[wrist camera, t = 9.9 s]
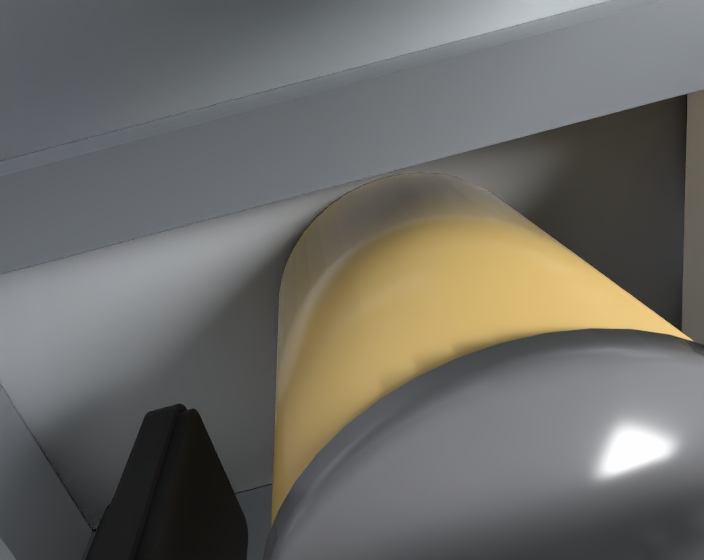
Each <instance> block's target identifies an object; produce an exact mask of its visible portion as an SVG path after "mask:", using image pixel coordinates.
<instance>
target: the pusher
mask: <svg viewBox="0 0 704 560" xmlns="http://www.w3.org/2000/svg"><path fill="white" fill-rule="evenodd" d="M682 333H683V334H685V335H686V336H687V337H689V338H690V339H692V340H693V341H694V342H697V343H700V344H703V345H704V89H703V90H699V91H695V92H691V93H688V100H687V140H686V181H685V222H684V262H683V303H682Z"/></svg>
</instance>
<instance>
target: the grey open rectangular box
mask: <svg viewBox="0 0 704 560" xmlns="http://www.w3.org/2000/svg"><path fill="white" fill-rule="evenodd" d="M703 89H704V0H610V1H607V2H603V3H599V4H595V5H591V6H588V7H584V8H580V9H576V10H572V11H569V12H565V13H561V14H557V15H553V16H550V17H546V18H542V19H538V20H534V21H531V22H527V23H523V24H519V25H515V26H512V27H508V28H504V29H500V30H496V31H493V32H489V33H485V34H481V35H477V36H474V37H470V38H466V39H462V40H458V41H455V42H451V43H447V44H443V45H439V46H436V47H432V48H428V49H424V50H420V51H417V52H413V53H409V54H405V55H401V56H398V57H394V58H390V59H386V60H382V61H379V62H375V63H371V64H367V65H363V66H360V67H356V68H352V69H348V70H345V71H341V72H337V73H333V74H329V75H326V76H322V77H318V78H314V79H310V80H307V81H303V82H299V83H295V84H291V85H288V86H284V87H280V88H276V89H272V90H269V91H265V92H261V93H257V94H253V95H250V96H246V97H242V98H238V99H234V100H231V101H227V102H223V103H219V104H215V105H212V106H208V107H204V108H200V109H196V110H193V111H189V112H185V113H181V114H177V115H174V116H170V117H166V118H162V119H158V120H155V121H151V122H147V123H143V124H139V125H136V126H132V127H128V128H124V129H120V130H117V131H113V132H109V133H105V134H101V135H98V136H94V137H90V138H86V139H82V140H79V141H75V142H71V143H67V144H63V145H60V146H56V147H52V148H48V149H45V150H41V151H37V152H33V153H29V154H26V155H22V156H18V157H14V158H10V159H7V160H3V161H0V274H4V273H8V272H12V271H16V270H19V269H23V268H27V267H31V266H35V265H38V264H42V263H46V262H50V261H54V260H57V259H61V258H65V257H69V256H73V255H76V254H80V253H84V252H88V251H92V250H95V249H99V248H103V247H107V246H111V245H114V244H118V243H122V242H126V241H130V240H133V239H137V238H141V237H145V236H148V235H152V234H156V233H160V232H164V231H167V230H171V229H175V228H179V227H183V226H186V225H190V224H194V223H198V222H202V221H205V220H209V219H213V218H217V217H221V216H224V215H228V214H232V213H236V212H240V211H243V210H247V209H251V208H255V207H259V206H262V205H266V204H270V203H274V202H278V201H281V200H285V199H289V198H293V197H297V196H300V195H304V194H308V193H312V192H315V191H319V190H323V189H327V188H331V187H334V186H338V185H342V184H346V183H350V182H353V181H357V180H361V179H365V178H369V177H372V176H376V175H380V174H384V173H388V172H391V171H395V170H399V169H403V168H407V167H410V166H414V165H418V164H422V163H426V162H429V161H433V160H437V159H441V158H445V157H448V156H452V155H456V154H460V153H464V152H467V151H471V150H475V149H479V148H482V147H486V146H490V145H494V144H498V143H501V142H505V141H509V140H513V139H517V138H520V137H524V136H528V135H532V134H536V133H539V132H543V131H547V130H551V129H555V128H558V127H562V126H566V125H570V124H574V123H577V122H581V121H585V120H589V119H593V118H596V117H600V116H604V115H608V114H612V113H615V112H619V111H623V110H627V109H631V108H634V107H638V106H642V105H646V104H649V103H653V102H657V101H661V100H665V99H668V98H672V97H676V96H680V95H684V94H687V93H691V92H695V91H699V90H703ZM272 491H273V484H272V485H268V486H264V487H260V488H257V489H253V490H249V491H245V492H241V493H238V494H235V495H236V498H237V500H238V502H239V504H240V507H241V509H242V511H243V513H244V516H245V518H246V522H247V527H248V549H247V560H263V555H264V550H265V545H266V540H267V538H268V535H269V533H270V530H271V520H272ZM95 534H96V531H94V532H92V530H91V528H90V527H89V525H88V524H87V522H86V520H85V519H84V517H83V516H82V514H81V512H80V511H79V509H78V508H77V506H76V505H75V503H74V501H73V500H72V498H71V497H70V495H69V493H68V492H67V490H66V489H65V487H64V485H63V484H62V482H61V481H60V479H59V477H58V476H57V474H56V473H55V471H54V469H53V468H52V466H51V465H50V463H49V461H48V460H47V458H46V457H45V455H44V453H43V452H42V450H41V449H40V447H39V445H38V444H37V442H36V441H35V439H34V437H33V436H32V434H31V433H30V431H29V429H28V428H27V426H26V425H25V423H24V421H23V420H22V418H21V417H20V415H19V413H18V412H17V410H16V409H15V407H14V405H13V404H12V402H11V401H10V399H9V397H8V396H7V394H6V393H5V391H4V389H3V388H2V386H1V385H0V560H85V559H86V557H87V554H88V551H89V549H90V546H91V544H92V541H93V539H94V536H95Z"/></svg>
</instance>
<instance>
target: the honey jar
mask: <svg viewBox="0 0 704 560" xmlns="http://www.w3.org/2000/svg"><path fill="white" fill-rule="evenodd" d="M263 560H704V345H703V344H700V343H697V342H694V341H693V340H692V339H690V338H689V337H687V336H686V335H685V334H683V333H682V332H681V331H679V330H678V329H677V328H675V327H674V326H673V325H671V324H670V323H668V322H667V321H666V320H664V319H663V318H662V317H660V316H659V315H658V314H656V313H655V312H653V311H652V310H651V309H649V308H648V307H647V306H645V305H644V304H643V303H641V302H640V301H639V300H637V299H636V298H634V297H633V296H632V295H630V294H629V293H628V292H626V291H625V290H624V289H622V288H621V287H619V286H618V285H617V284H615V283H614V282H613V281H611V280H610V279H609V278H607V277H606V276H605V275H603V274H602V273H600V272H599V271H598V270H596V269H595V268H594V267H592V266H591V265H590V264H588V263H587V262H585V261H584V260H583V259H581V258H580V257H579V256H577V255H576V254H575V253H573V252H572V251H571V250H569V249H568V248H566V247H565V246H564V245H562V244H561V243H560V242H558V241H557V240H556V239H554V238H553V237H551V236H550V235H549V234H547V233H546V232H545V231H543V230H542V229H541V228H539V227H538V226H537V225H535V224H534V223H532V222H531V221H530V220H528V219H527V218H526V217H524V216H523V215H522V214H520V213H519V212H517V211H516V210H515V209H513V208H512V207H511V206H509V205H508V204H507V203H505V202H504V201H503V200H501V199H500V198H498V197H497V196H496V195H494V194H493V193H491V192H490V191H488V190H486V189H484V188H482V187H481V186H479V185H477V184H475V183H472V182H469V181H466V180H463V179H461V178H458V177H453V176H448V175H443V174H433V173H412V174H401V175H396V176H391V177H387V178H382V179H379V180H377V181H374V182H371V183H368V184H365V185H363V186H361V187H359V188H357V189H355V190H353V191H351V192H349V193H347V194H346V195H344V196H343V197H341V198H340V199H338V200H337V201H335V202H334V203H332V204H331V205H330V206H329V207H327V208H326V209H325V210H324V211H323V212H322V213H321V214H319V215H318V216H317V217H316V218H315V220H314V221H313V222H312V223H311V224H310V225H309V226H308V227H307V229H306V230H305V231H304V233H303V234H302V236H301V237H300V239H299V240H298V242H297V243H296V245H295V246H294V248H293V250H292V253H291V255H290V257H289V259H288V261H287V264H286V267H285V270H284V273H283V276H282V281H281V286H280V292H279V316H278V345H277V374H276V404H275V433H274V462H273V491H272V520H271V530H270V533H269V535H268V538H267V540H266V545H265V550H264V555H263Z"/></svg>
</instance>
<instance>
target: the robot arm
mask: <svg viewBox="0 0 704 560" xmlns="http://www.w3.org/2000/svg"><path fill="white" fill-rule="evenodd" d="M247 549H248V527H247V522H246V518H245V516H244V513H243V511H242V509H241V507H240V504H239V502H238V500H237V498H236V495H235V493H234V491H233V489H232V486H231V484H230V482H229V480H228V478H227V475H226V473H225V471H224V469H223V466H222V464H221V462H220V460H219V457H218V455H217V453H216V451H215V449H214V446H213V444H212V442H211V440H210V437H209V435H208V433H207V431H206V428H205V426H204V424H203V422H202V420H201V417H200V415H199V413H198V412H197V411H196V409H191V410H187V409H186V407H185V406H184V405H183V404H177V405H173V406H169V407H165V408H161V409H158V410H154V411H150V412H148V413H147V414H146V416H145V417H144V420H143V423H142V425H141V428H140V430H139V433H138V436H137V438H136V441H135V443H134V446H133V448H132V451H131V454H130V456H129V459H128V461H127V464H126V467H125V469H124V472H123V474H122V477H121V479H120V482H119V485H118V487H117V490H116V492H115V495H114V498H113V500H112V503H111V504H110V505H108V507H107V508H106V510H105V512H104V514H103V516H102V519H101V521H100V524H99V526H98V529H97V531H96V534H95V536H94V539H93V541H92V544H91V546H90V549H89V551H88V554H87V557H86V559H85V560H247Z"/></svg>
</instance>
